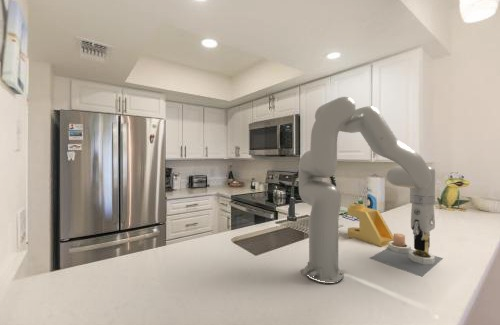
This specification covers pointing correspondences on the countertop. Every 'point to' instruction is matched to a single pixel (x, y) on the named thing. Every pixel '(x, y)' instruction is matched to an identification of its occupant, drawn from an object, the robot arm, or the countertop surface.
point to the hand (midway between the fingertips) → (421, 247)
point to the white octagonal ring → (421, 258)
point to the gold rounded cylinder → (426, 252)
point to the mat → (403, 262)
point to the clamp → (369, 226)
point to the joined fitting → (399, 244)
